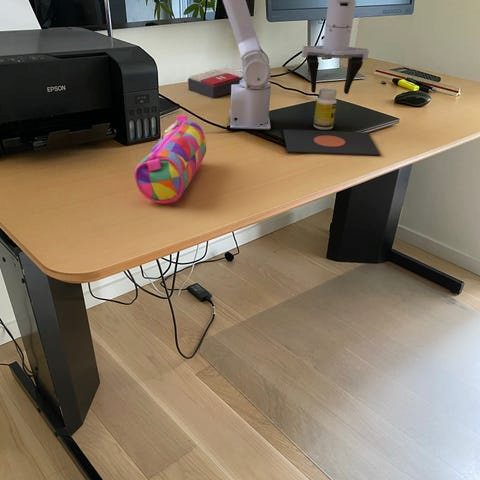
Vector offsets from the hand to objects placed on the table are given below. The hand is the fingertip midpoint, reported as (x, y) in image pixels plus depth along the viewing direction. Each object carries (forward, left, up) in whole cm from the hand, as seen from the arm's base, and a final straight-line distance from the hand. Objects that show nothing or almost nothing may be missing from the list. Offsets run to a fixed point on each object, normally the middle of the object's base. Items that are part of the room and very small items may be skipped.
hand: (329, 92), depth 118 cm
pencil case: (-33, -35, -8) cm, 49 cm away
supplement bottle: (0, 0, -8) cm, 8 cm away
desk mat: (0, -11, -8) cm, 14 cm away
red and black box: (-26, +30, -8) cm, 41 cm away
